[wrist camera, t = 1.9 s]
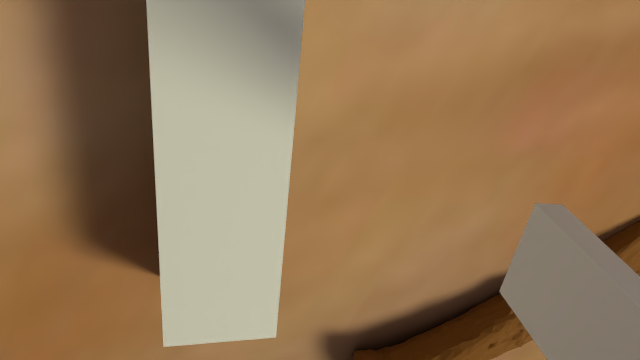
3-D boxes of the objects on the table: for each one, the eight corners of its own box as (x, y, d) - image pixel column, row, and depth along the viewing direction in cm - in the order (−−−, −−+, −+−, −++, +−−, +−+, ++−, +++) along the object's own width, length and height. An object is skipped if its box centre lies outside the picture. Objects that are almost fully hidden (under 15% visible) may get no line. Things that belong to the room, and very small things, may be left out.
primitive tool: (696, 185, 27) (760, 226, 24) (692, 262, 30) (748, 307, 27) (337, 340, 27) (356, 400, 24) (369, 401, 30) (389, 461, 27)
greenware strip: (262, 268, 24) (275, 337, 20) (166, 274, 23) (163, 346, 19) (290, -167, 16) (320, -173, 13) (146, -186, 15) (136, -199, 12)
